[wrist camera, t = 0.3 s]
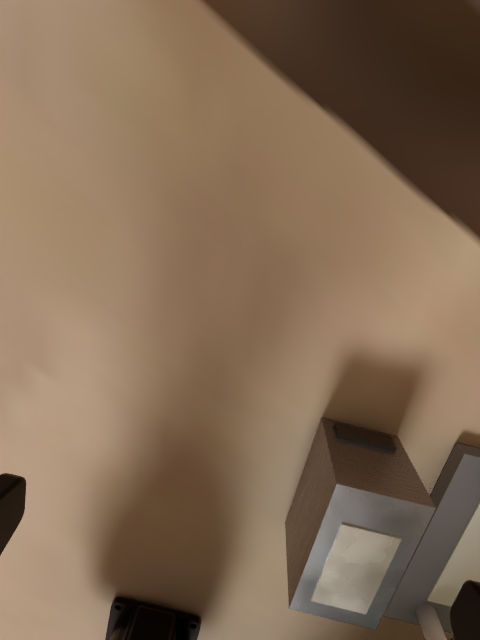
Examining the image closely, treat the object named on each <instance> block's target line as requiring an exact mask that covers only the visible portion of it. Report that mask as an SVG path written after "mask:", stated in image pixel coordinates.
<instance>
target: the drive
mask: <svg viewBox="0 0 480 640" xmlns="http://www.w3.org/2000/svg"><path fill="white" fill-rule="evenodd" d="M435 509H436V507H435V506H434V504H433V502H432V500H431V498H430V496H429V494H428V492H427V491H426V489H425V487H424V485H423V483H422V481H421V479H420V478H419V476H418V474H417V472H416V470H415V468H414V466H413V465H412V463H411V461H410V459H409V457H408V455H407V453H406V451H405V450H404V448H403V446H402V444H401V442H400V440H399V438H398V437H397V436H395V435H390V434H386V433H382V432H378V431H374V430H370V429H366V428H362V427H358V426H354V425H349V424H345V423H341V422H337V421H333V420H329V419H325V418H321V420H320V423H319V426H318V429H317V432H316V435H315V438H314V441H313V443H312V446H311V449H310V452H309V455H308V458H307V461H306V464H305V467H304V470H303V473H302V475H301V478H300V481H299V484H298V487H297V490H296V493H295V496H294V499H293V502H292V505H291V507H290V510H289V513H288V516H287V519H286V522H285V529H286V552H287V574H288V596H289V609H292V610H296V611H300V612H305V613H309V614H313V615H317V616H321V617H325V618H329V619H333V620H337V621H341V622H345V623H349V624H353V625H357V626H361V627H365V628H369V629H373V630H376V628H377V626H378V624H379V622H380V620H381V618H382V616H383V614H384V612H385V610H386V608H387V606H388V604H389V602H390V600H391V598H392V596H393V594H394V592H395V590H396V588H397V586H398V584H399V582H400V580H401V577H402V575H403V573H404V571H405V569H406V567H407V565H408V563H409V561H410V559H411V557H412V555H413V553H414V551H415V549H416V547H417V545H418V543H419V541H420V539H421V537H422V535H423V533H424V531H425V529H426V527H427V525H428V523H429V521H430V519H431V517H432V515H433V513H434V511H435Z"/></svg>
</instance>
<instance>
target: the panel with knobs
mask: <svg viewBox="0 0 480 640" xmlns="http://www.w3.org/2000/svg"><path fill="white" fill-rule="evenodd" d="M430 498H431V500H432V502H433V504H434V506H435V507H436V509H435V511H434V513H433V515H432V517H431V519H430V521H429V523H428V525H427V527H426V529H425V531H424V533H423V535H422V537H421V539H420V541H419V543H418V545H417V547H416V549H415V551H414V553H413V555H412V557H411V559H410V561H409V563H408V565H407V567H406V569H405V571H404V573H403V575H402V577H401V580H400V582H399V584H398V586H397V588H396V590H395V592H394V594H393V596H392V598H391V600H390V602H389V604H388V606H387V608H386V610H385V612H384V614H383V616H384V617H388V618H392V619H396V620H400V621H404V622H408V623H412V624H417V625H420V626H421V629H422V632H423V635H424V638H425V640H447V638H446V636H445V633H444V631H445V632H449V633H453V632H452V628H451V624H450V608H451V605H452V604H453V602H454V600H455V598H456V596H457V594H458V592H459V590H460V588H461V586H462V584H463V583H464V582H465V581H467V580H472V581H476V582H480V448H476V447H471V446H467V445H463V444H459V443H456V444H455V446H454V448H453V450H452V452H451V454H450V456H449V458H448V460H447V462H446V465H445V467H444V469H443V471H442V473H441V475H440V477H439V479H438V481H437V483H436V485H435V487H434V489H433V491H432V493H431V495H430Z"/></svg>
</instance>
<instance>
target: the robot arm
mask: <svg viewBox="0 0 480 640" xmlns="http://www.w3.org/2000/svg"><path fill="white" fill-rule="evenodd" d="M25 495H26V480H25V478H23V477H21V476H17V475H13V474H8V473H4V474H1V475H0V555H1V553H2V552H3V550H4V548H5V547H6V545H7V543H8V542H9V540H10V538H11V537H12V535H13V533H14V532H15V530H16V528H17V526H18V525H19V523H20V521H21V519H22V517H23V514H24V510H25ZM450 624H451V628H452V632H453V636H454V640H480V582H476V581H472V580H467V581H465V582H464V583H463V584H462V586H461V588H460V590H459V592H458V594H457V596H456V598H455V600H454V602H453V604H452V605H451V608H450ZM200 625H201V619H200V618H199V617H198V616H195V615H191V614H187V613H183V612H179V611H175V610H171V609H167V608H163V607H159V606H155V605H151V604H146V603H142V602H138V601H134V600H130V599H126V598H122V597H116V598H115V599H114V600H113V603H112V605H111V610H110V616H109V622H108V628H107V634H106V639H105V640H197V637H198V633H199V630H200Z"/></svg>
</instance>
